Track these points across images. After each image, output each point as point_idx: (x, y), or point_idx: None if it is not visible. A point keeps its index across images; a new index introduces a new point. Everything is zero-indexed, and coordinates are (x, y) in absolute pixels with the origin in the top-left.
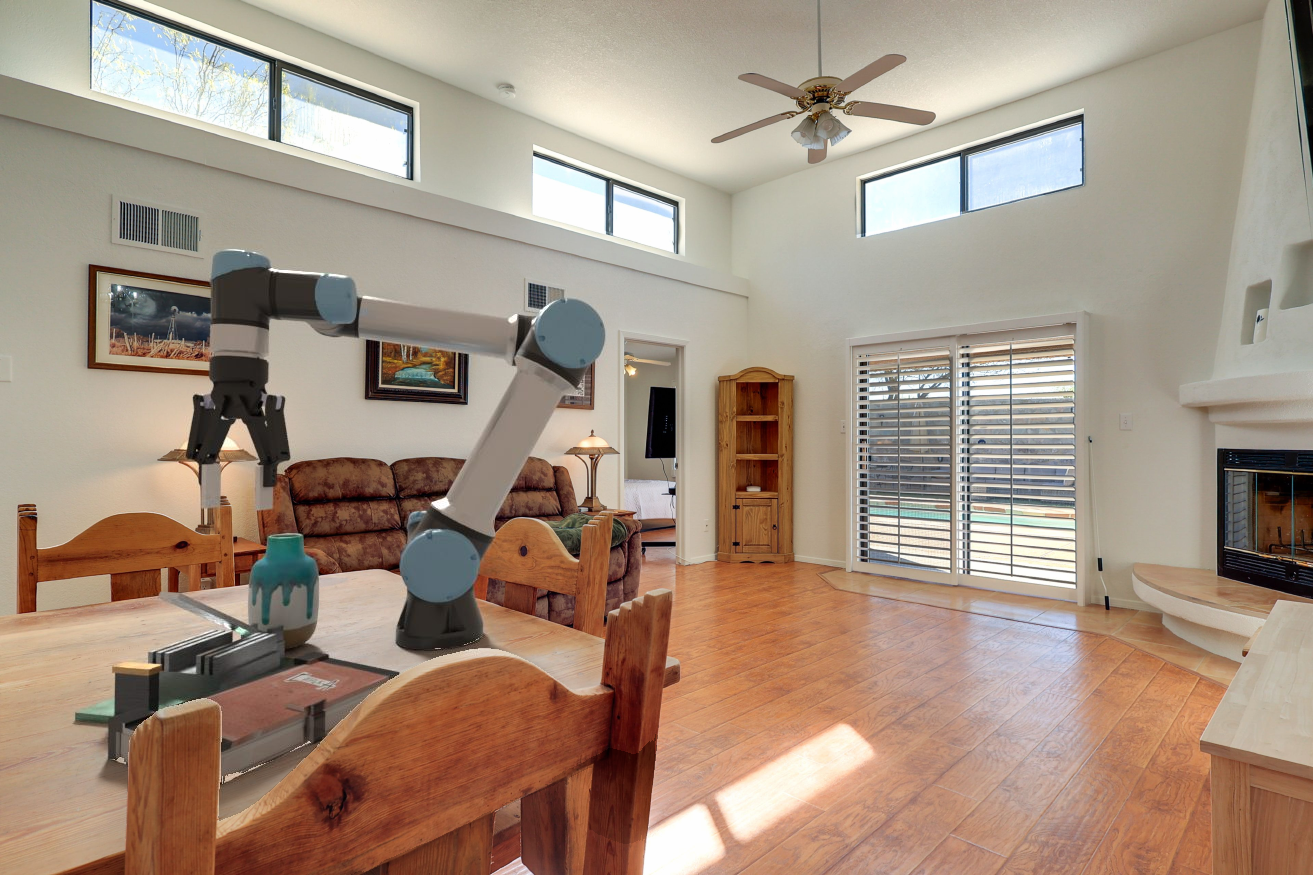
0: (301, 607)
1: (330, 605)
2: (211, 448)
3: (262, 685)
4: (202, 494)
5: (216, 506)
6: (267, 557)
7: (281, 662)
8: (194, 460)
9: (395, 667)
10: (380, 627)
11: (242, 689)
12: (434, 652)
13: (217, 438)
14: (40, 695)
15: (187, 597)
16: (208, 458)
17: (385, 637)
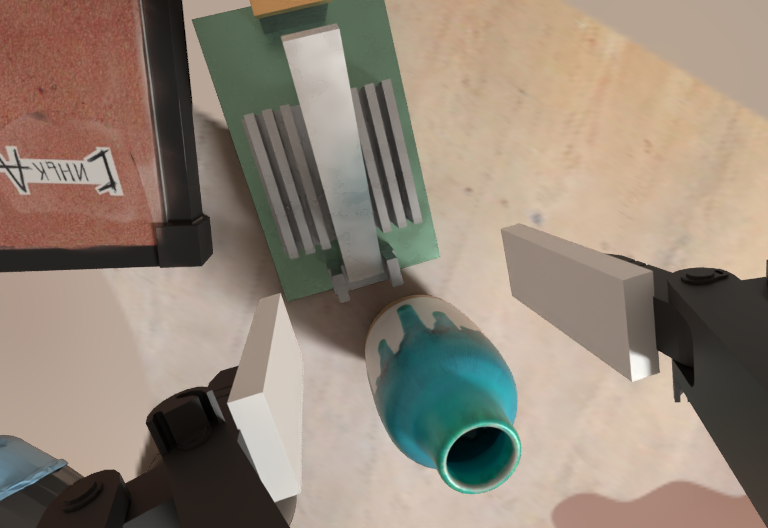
0: (368, 363)
1: (541, 501)
2: (711, 358)
3: (117, 115)
4: (543, 235)
5: (511, 279)
6: (468, 384)
7: (315, 268)
8: (750, 280)
9: (155, 358)
10: (361, 472)
11: (127, 85)
12: None
13: (761, 440)
14: (529, 22)
15: (290, 69)
16: (687, 331)
17: (306, 444)
